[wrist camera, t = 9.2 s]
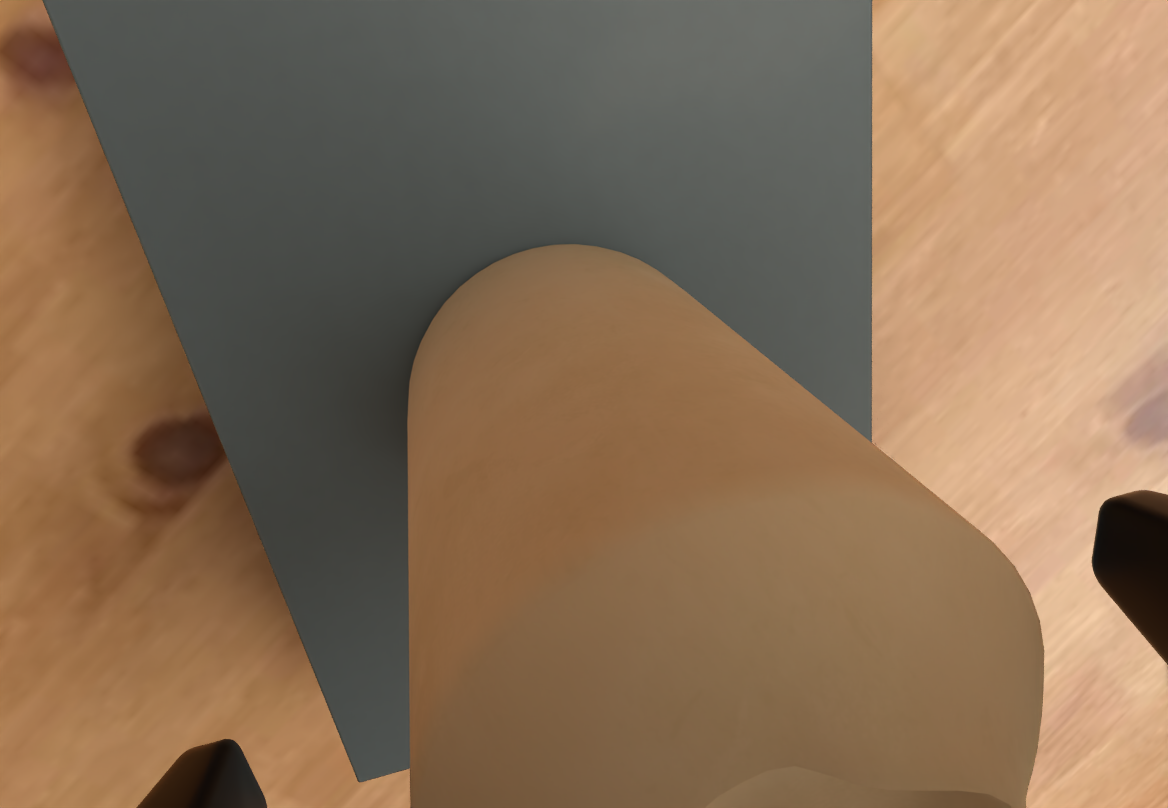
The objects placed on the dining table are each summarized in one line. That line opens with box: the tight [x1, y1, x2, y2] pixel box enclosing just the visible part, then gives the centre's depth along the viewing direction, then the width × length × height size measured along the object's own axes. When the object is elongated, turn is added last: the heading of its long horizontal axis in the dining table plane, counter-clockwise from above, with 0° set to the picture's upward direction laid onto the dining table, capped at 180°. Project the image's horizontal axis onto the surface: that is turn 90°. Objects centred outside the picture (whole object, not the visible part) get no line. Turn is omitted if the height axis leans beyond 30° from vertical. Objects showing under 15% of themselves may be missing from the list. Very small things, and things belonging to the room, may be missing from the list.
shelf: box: [43, 0, 872, 782], centre depth 16 cm, size 12×16×4 cm
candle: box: [407, 244, 1044, 808], centre depth 10 cm, size 6×6×10 cm
